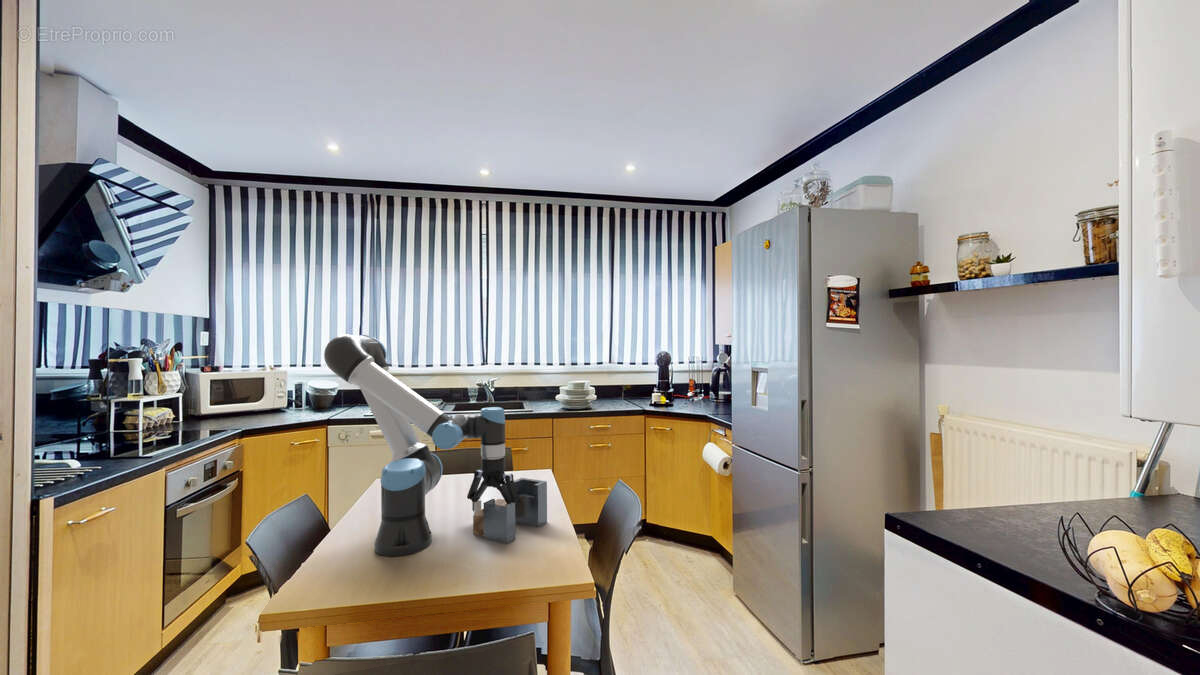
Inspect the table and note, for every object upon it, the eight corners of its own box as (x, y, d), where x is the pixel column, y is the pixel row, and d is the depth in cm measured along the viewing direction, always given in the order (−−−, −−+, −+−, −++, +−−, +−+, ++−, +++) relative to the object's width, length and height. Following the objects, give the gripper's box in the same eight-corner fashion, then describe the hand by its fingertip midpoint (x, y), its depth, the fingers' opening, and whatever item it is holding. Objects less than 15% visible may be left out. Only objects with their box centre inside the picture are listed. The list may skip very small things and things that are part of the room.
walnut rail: (473, 535, 146) (473, 515, 146) (498, 517, 161) (498, 498, 162) (488, 536, 145) (488, 516, 145) (511, 518, 160) (511, 500, 160)
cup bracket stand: (481, 538, 143) (481, 493, 143) (521, 517, 160) (521, 477, 160) (508, 544, 138) (508, 498, 139) (547, 522, 156) (546, 481, 156)
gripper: (532, 458, 151) (532, 527, 151) (471, 450, 162) (472, 515, 162) (517, 463, 144) (518, 535, 144) (455, 455, 156) (455, 522, 155)
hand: (493, 525), depth 153 cm, fingers open, 12 cm apart
